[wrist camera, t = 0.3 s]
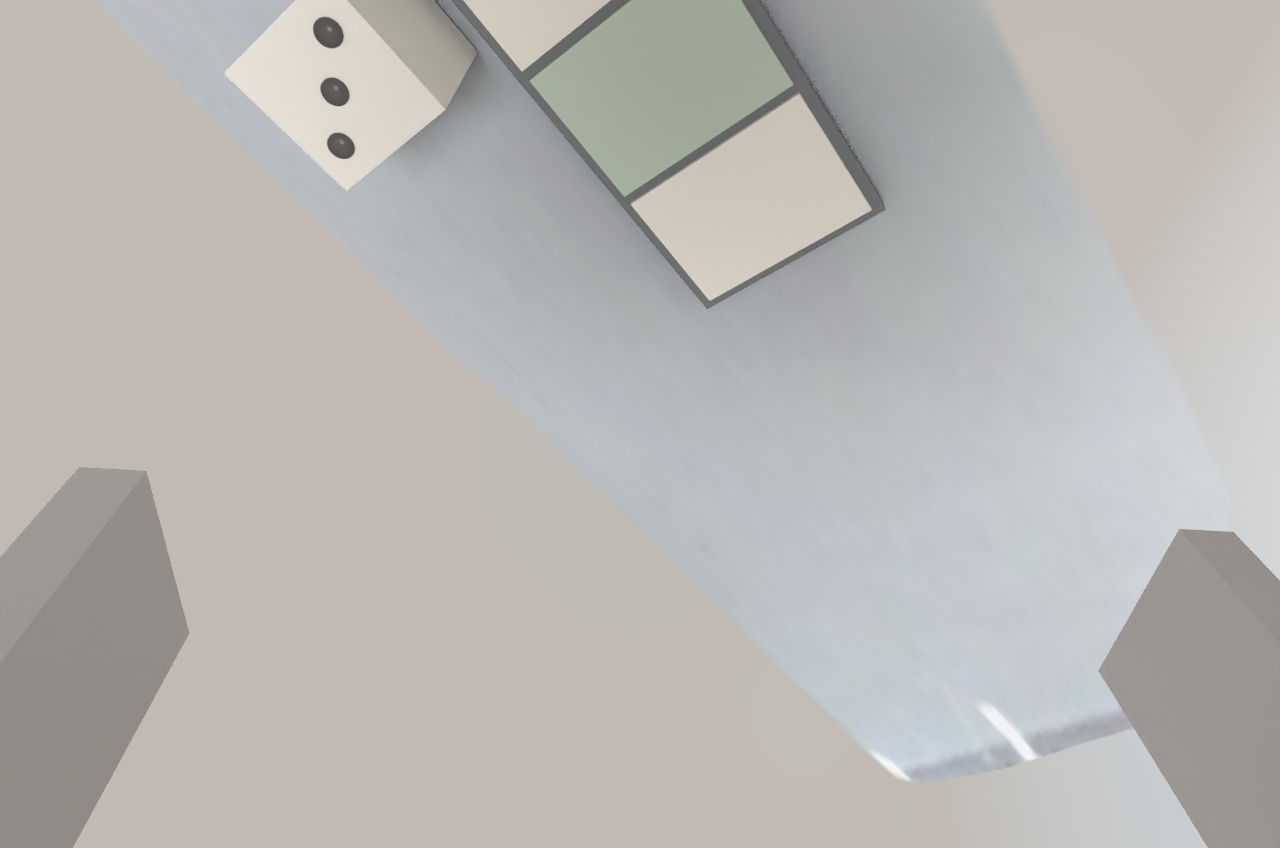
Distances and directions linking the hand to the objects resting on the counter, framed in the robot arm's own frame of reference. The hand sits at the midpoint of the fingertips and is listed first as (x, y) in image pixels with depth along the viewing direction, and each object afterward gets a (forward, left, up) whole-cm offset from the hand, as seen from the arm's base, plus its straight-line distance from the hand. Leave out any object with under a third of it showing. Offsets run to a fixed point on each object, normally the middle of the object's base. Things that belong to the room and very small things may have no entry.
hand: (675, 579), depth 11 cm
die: (+10, -6, -25) cm, 27 cm away
